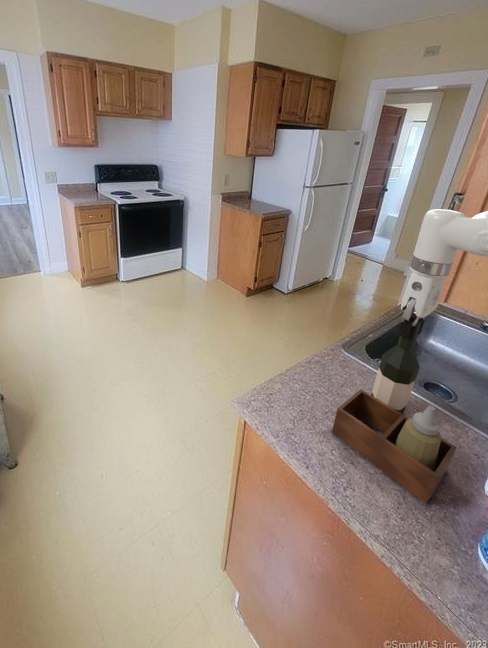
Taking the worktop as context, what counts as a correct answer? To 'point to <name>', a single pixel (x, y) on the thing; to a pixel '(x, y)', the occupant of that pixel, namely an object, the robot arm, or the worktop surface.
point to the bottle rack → (388, 444)
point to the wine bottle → (397, 373)
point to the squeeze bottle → (421, 437)
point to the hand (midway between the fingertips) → (409, 334)
